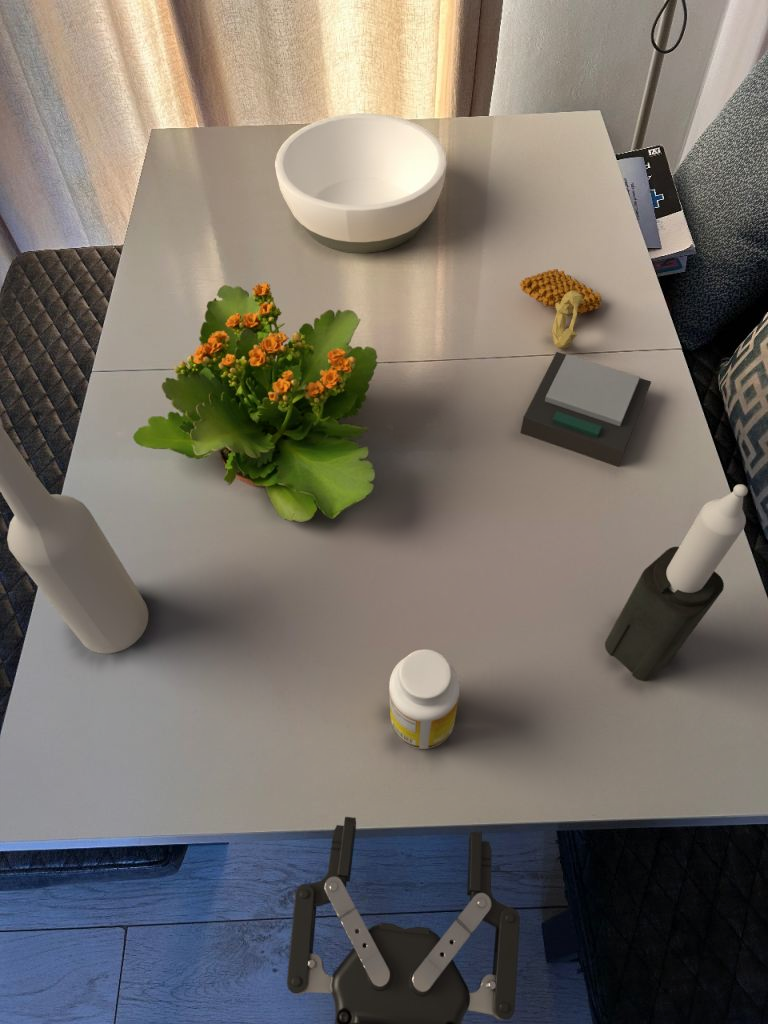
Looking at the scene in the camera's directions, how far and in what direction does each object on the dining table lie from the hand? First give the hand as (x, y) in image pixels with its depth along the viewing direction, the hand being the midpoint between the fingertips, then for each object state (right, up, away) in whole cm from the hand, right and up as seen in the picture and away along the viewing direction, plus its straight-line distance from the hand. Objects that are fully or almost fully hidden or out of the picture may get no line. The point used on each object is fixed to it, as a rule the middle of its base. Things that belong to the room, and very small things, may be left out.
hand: (412, 826), depth 52 cm
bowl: (-5, +63, +55) cm, 83 cm away
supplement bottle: (+1, +3, +14) cm, 15 cm away
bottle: (-27, +11, +20) cm, 36 cm away
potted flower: (-15, +28, +31) cm, 45 cm away
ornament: (+20, +45, +42) cm, 65 cm away
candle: (+21, +9, +18) cm, 29 cm away
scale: (+20, +32, +33) cm, 51 cm away
